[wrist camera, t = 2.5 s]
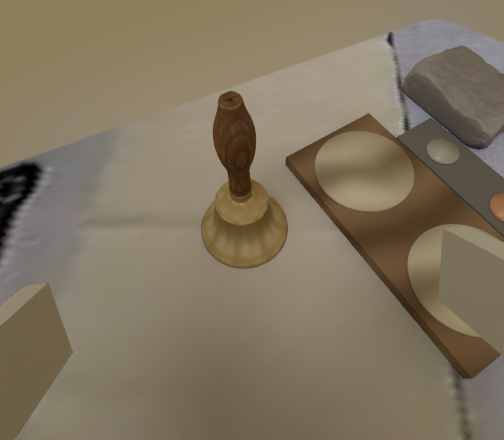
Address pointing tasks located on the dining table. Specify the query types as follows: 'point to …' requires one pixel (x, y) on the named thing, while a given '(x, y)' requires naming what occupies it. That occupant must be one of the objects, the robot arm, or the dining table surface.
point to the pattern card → (459, 170)
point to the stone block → (460, 94)
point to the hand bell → (240, 196)
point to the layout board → (395, 225)
